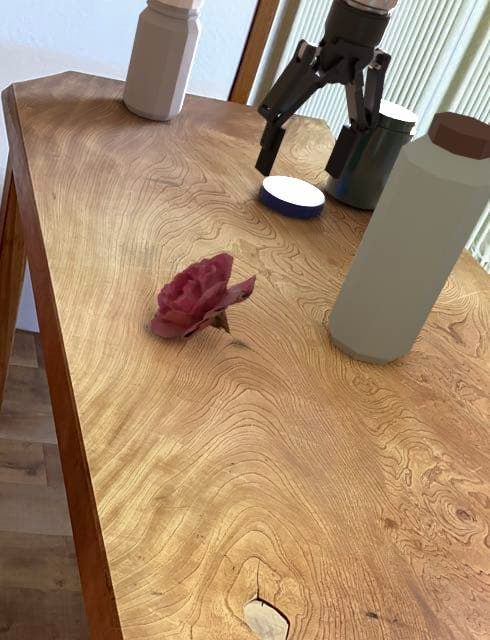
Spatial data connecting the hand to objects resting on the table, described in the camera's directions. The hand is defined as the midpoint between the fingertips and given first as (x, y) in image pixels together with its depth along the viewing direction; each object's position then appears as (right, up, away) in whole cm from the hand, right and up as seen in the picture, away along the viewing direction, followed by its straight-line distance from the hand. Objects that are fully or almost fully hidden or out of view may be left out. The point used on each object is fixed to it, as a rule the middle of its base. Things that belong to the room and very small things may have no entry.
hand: (297, 173), depth 126 cm
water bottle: (+3, -29, -22) cm, 36 cm away
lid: (0, -2, +2) cm, 3 cm away
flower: (-18, -29, -27) cm, 44 cm away
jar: (-19, +18, +19) cm, 33 cm away
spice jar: (+10, 0, +9) cm, 14 cm away
